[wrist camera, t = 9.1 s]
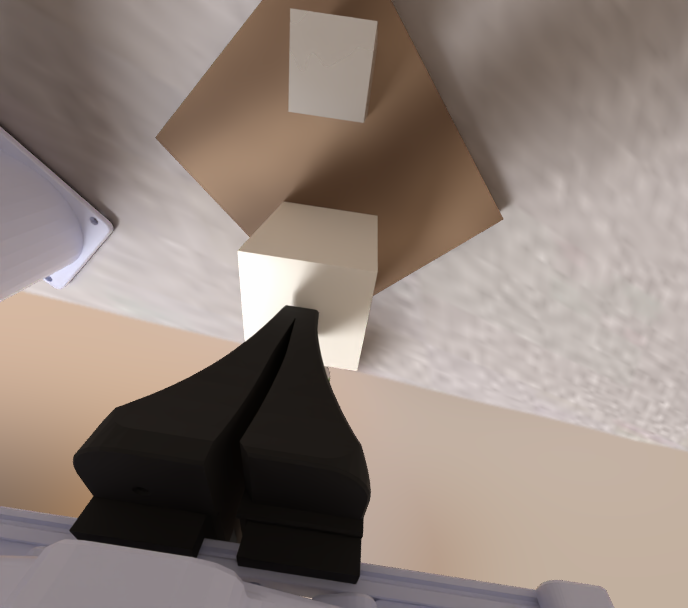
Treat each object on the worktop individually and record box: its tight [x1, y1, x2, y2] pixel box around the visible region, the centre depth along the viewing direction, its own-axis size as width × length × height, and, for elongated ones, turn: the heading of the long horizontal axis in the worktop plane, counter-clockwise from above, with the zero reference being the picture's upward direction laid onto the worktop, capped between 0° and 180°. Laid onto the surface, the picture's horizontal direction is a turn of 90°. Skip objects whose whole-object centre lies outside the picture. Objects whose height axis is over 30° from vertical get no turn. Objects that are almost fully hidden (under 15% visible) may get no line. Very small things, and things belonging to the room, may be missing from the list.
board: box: [155, 0, 503, 296], centre depth 16 cm, size 14×12×1 cm
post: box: [288, 8, 378, 123], centre depth 12 cm, size 3×3×4 cm
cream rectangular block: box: [238, 202, 378, 371], centre depth 15 cm, size 5×5×7 cm
